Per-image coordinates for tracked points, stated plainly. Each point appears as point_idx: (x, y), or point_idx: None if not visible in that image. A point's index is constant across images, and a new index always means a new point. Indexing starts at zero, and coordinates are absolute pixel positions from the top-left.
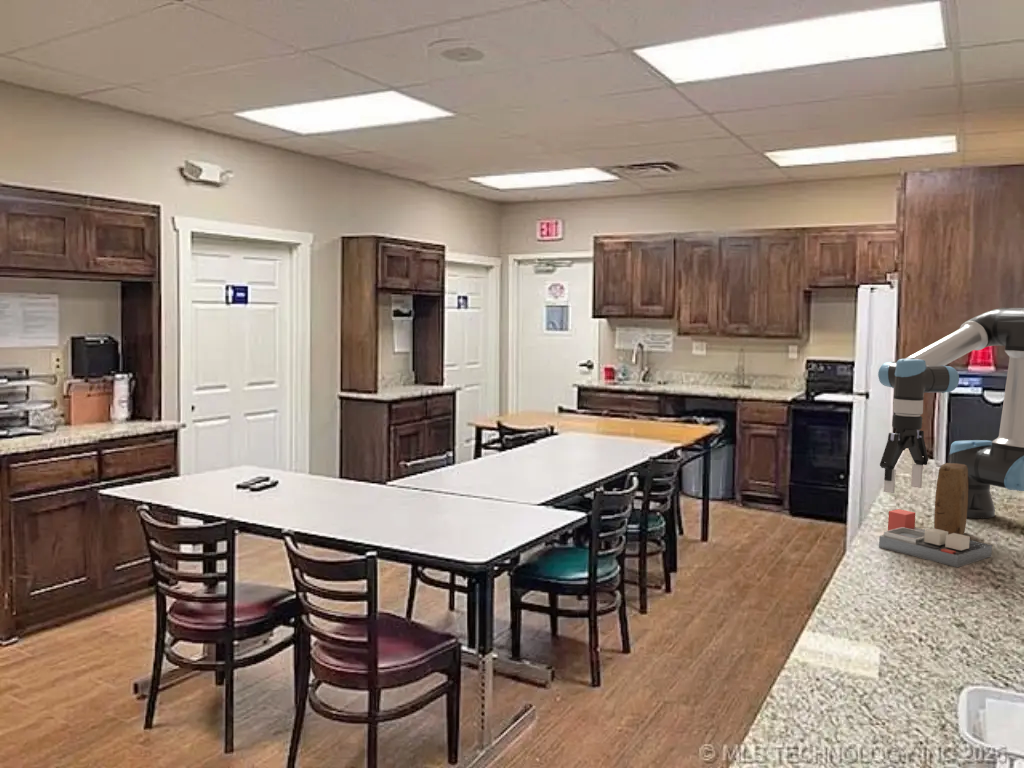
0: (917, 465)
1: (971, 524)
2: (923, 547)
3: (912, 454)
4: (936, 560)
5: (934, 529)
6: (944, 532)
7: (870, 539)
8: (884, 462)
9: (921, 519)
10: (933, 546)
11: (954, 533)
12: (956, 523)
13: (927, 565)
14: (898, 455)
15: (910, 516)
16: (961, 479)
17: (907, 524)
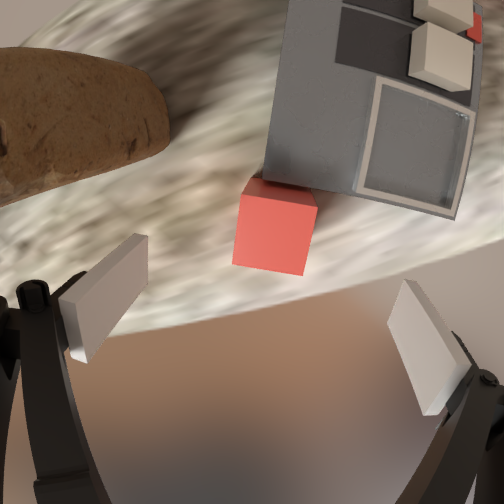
0: (82, 328)
1: None
2: (479, 88)
3: (80, 422)
4: None
5: (437, 63)
6: (448, 31)
7: (378, 257)
8: (488, 435)
9: (56, 244)
10: None
11: (432, 4)
12: (147, 80)
13: (500, 73)
14: (468, 458)
15: (279, 198)
16: (30, 49)
17: (297, 194)
